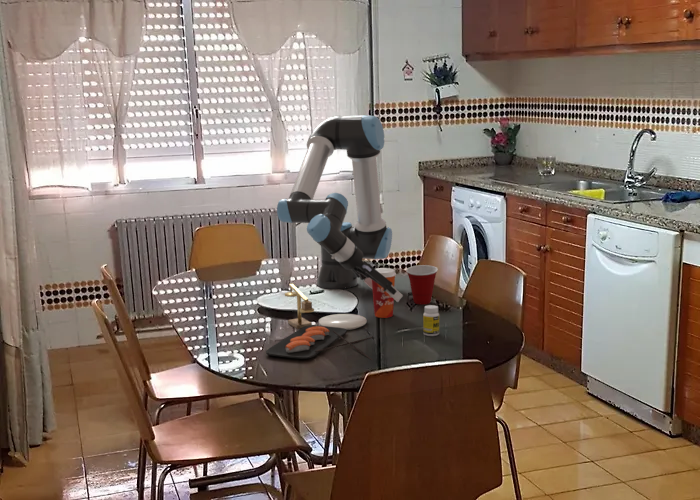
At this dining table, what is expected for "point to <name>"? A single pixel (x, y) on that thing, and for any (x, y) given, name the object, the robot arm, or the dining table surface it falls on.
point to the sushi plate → (310, 342)
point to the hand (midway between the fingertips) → (389, 294)
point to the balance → (305, 308)
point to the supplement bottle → (431, 321)
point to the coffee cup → (383, 295)
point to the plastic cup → (422, 282)
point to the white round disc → (343, 321)
